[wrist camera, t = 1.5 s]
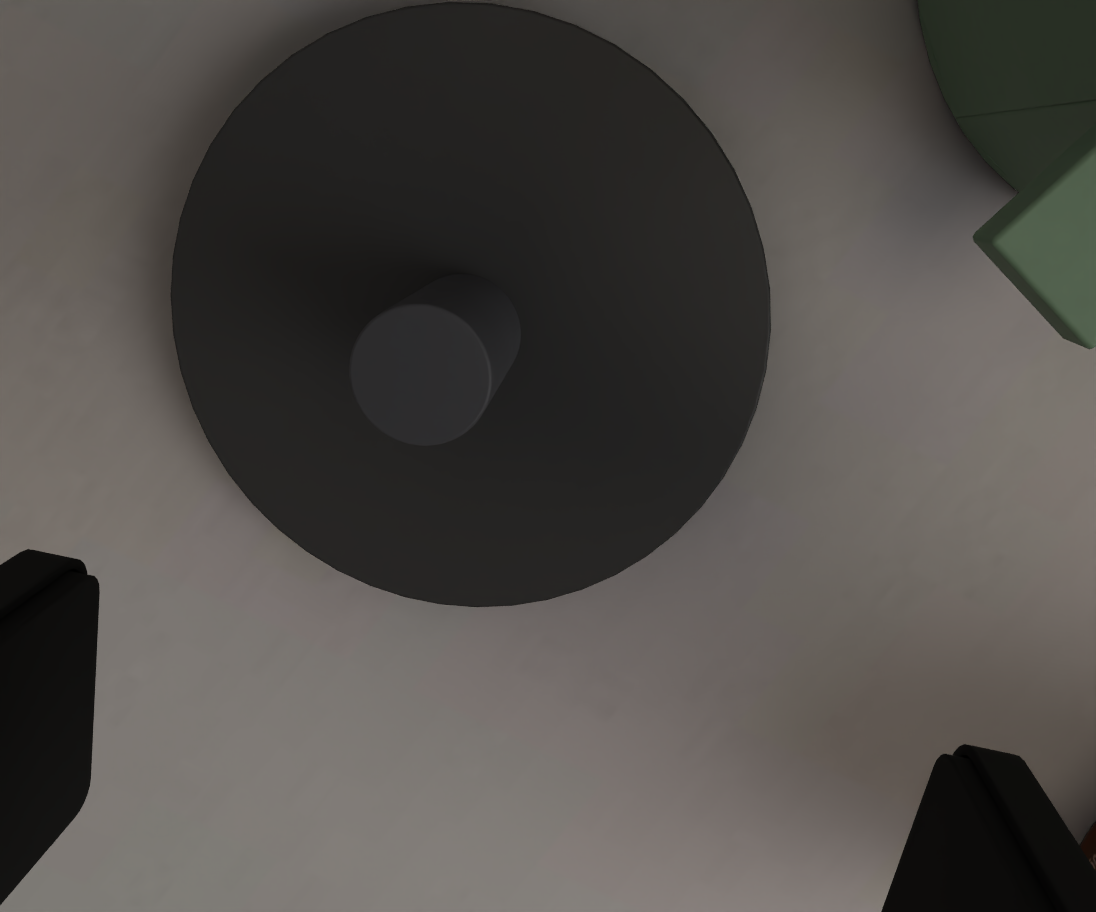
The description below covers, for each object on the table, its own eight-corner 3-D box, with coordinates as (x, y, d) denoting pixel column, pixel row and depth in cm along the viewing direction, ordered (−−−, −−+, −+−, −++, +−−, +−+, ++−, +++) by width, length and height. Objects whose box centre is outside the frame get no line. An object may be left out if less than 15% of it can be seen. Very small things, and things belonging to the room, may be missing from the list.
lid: (81, 326, 25) (-85, 377, 20) (451, -139, 22) (382, -253, 16) (487, 686, 28) (446, 830, 22) (890, 321, 24) (976, 375, 18)
